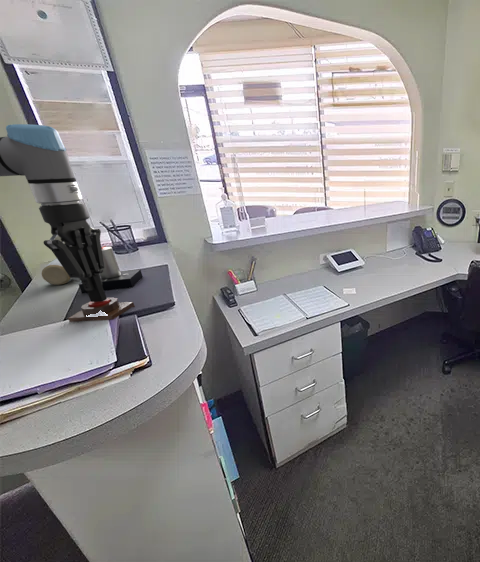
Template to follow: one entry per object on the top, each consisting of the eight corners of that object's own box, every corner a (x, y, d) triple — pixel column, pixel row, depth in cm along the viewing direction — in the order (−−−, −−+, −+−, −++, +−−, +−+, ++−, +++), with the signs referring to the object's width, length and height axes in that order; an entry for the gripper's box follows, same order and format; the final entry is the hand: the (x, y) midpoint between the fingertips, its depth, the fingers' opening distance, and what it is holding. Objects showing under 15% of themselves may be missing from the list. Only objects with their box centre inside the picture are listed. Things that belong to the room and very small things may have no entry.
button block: (71, 326, 74) (64, 311, 73) (96, 311, 82) (91, 297, 80) (114, 323, 75) (109, 309, 73) (135, 309, 82) (131, 295, 81)
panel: (81, 293, 93) (78, 284, 92) (97, 282, 102) (93, 273, 101) (132, 287, 97) (129, 278, 96) (143, 277, 106) (140, 268, 105)
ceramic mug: (44, 287, 98) (34, 264, 96) (56, 279, 105) (48, 258, 103) (86, 282, 102) (78, 260, 100) (95, 275, 109) (88, 254, 107)
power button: (86, 311, 75) (84, 305, 75) (99, 304, 79) (96, 298, 78) (103, 310, 76) (101, 304, 75) (115, 303, 79) (113, 297, 79)
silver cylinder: (117, 277, 97) (107, 248, 94) (98, 279, 96) (87, 250, 92) (123, 272, 102) (114, 245, 98) (105, 274, 100) (95, 246, 97)
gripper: (53, 206, 62) (94, 311, 71) (101, 199, 74) (132, 289, 83) (13, 207, 62) (60, 313, 70) (68, 200, 74) (102, 290, 82)
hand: (99, 300), depth 77 cm, fingers closed
